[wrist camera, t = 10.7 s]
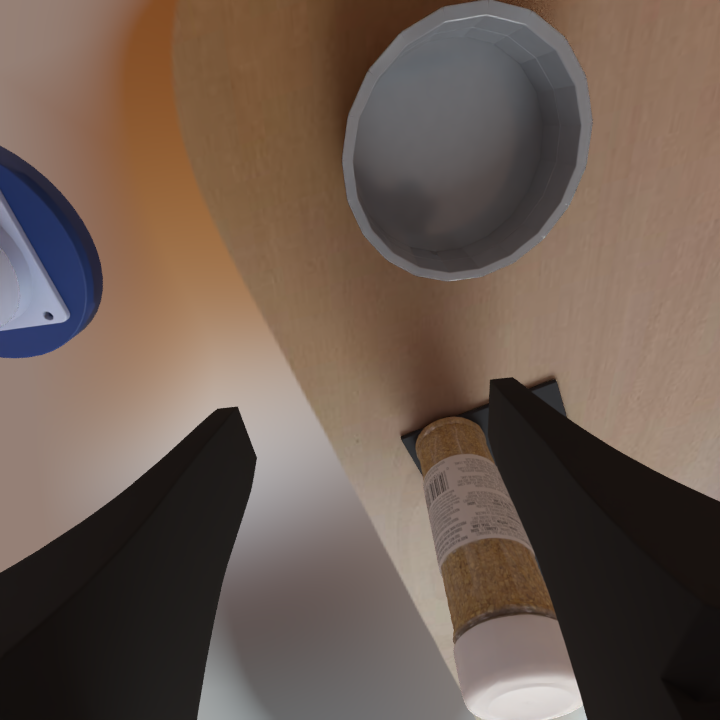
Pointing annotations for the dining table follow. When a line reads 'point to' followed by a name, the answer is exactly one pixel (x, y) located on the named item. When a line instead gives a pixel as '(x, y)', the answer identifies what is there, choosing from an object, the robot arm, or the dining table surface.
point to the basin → (467, 140)
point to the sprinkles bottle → (492, 583)
